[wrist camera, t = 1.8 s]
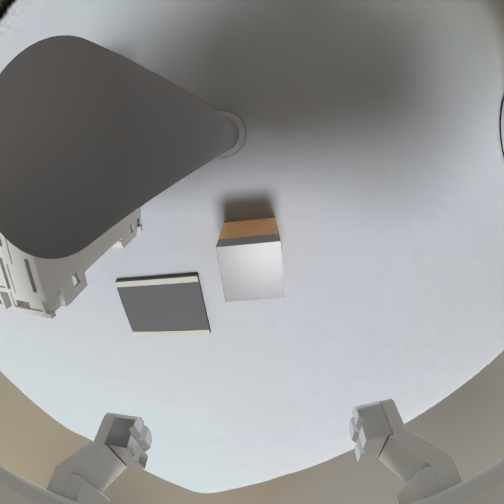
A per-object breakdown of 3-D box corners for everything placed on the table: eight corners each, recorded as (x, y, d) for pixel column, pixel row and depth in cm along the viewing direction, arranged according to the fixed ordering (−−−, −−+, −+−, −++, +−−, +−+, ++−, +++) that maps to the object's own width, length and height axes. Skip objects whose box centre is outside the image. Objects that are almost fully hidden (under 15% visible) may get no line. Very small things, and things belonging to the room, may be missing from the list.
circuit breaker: (136, 78, 21) (22, 41, 7) (142, 229, 26) (53, 322, 13) (69, 92, 21) (-51, 89, 7) (78, 230, 26) (-19, 306, 13)
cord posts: (242, 108, 22) (166, -41, 2) (248, 154, 24) (205, 283, 3) (9, 170, 23) (-143, 241, 3) (16, 203, 25) (-128, 292, 5)
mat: (198, 273, 28) (197, 276, 27) (210, 331, 31) (210, 334, 30) (117, 279, 28) (115, 282, 28) (135, 333, 31) (134, 335, 31)
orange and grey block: (274, 217, 26) (280, 241, 20) (278, 263, 28) (284, 296, 22) (224, 222, 26) (215, 247, 21) (231, 267, 28) (225, 301, 22)
